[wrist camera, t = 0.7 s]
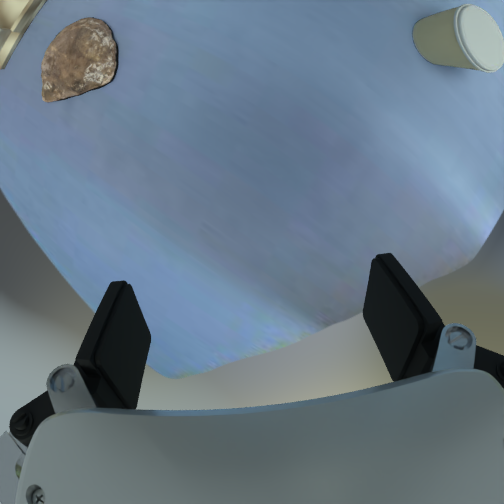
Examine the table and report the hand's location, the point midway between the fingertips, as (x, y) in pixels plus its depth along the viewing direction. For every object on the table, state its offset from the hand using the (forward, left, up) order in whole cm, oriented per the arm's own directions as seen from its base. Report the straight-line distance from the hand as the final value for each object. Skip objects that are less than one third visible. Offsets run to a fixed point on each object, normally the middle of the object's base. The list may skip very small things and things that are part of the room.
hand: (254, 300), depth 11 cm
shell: (+3, -26, -30) cm, 40 cm away
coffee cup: (-34, +7, -30) cm, 46 cm away
